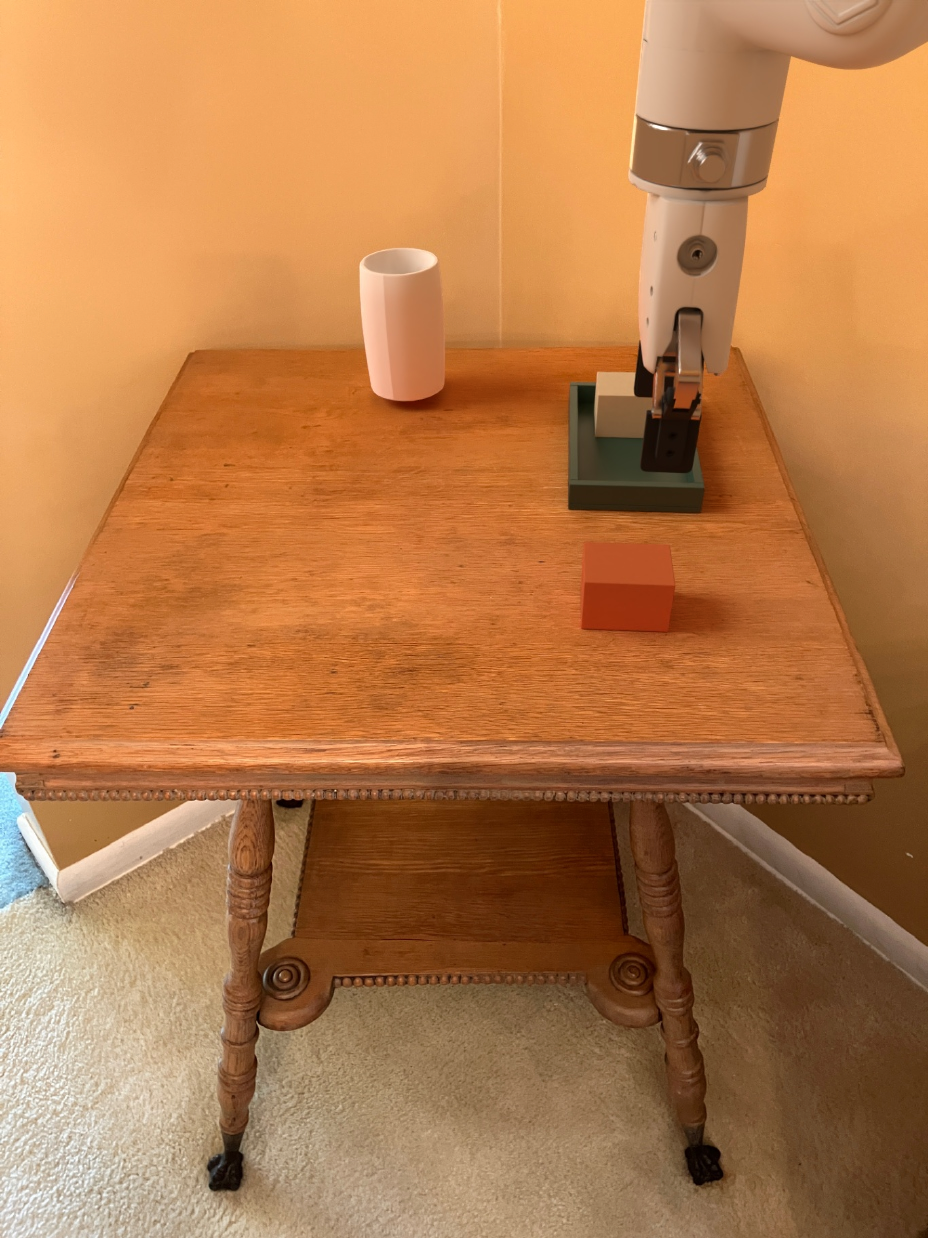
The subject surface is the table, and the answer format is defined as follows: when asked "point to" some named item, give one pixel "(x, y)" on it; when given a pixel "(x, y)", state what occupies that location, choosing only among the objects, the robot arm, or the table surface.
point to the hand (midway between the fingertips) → (660, 430)
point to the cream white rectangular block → (619, 406)
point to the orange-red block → (626, 586)
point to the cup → (403, 323)
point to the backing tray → (620, 468)
